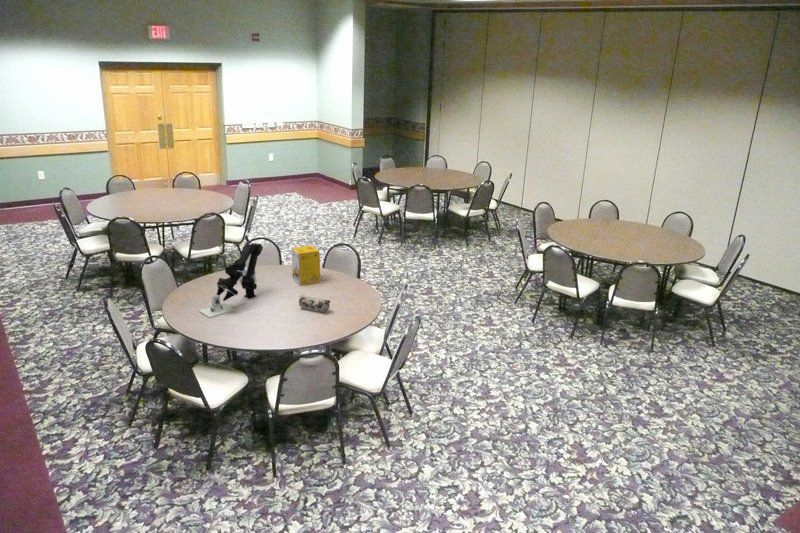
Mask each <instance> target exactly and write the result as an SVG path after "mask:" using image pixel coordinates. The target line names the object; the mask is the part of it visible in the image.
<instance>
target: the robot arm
mask: <svg viewBox="0 0 800 533" xmlns="http://www.w3.org/2000/svg"><path fill="white" fill-rule="evenodd" d="M263 249H264V248H263V245H262V244H261V243H253V242H252V243H251V244H250V243H248V244H246V245H245V249H244V250H243V251H242V253H241V255H240V257H239V258H237V259H236V260H235V261H234V262H233V263H232V264H229V266H228V265H227V267H225V270H224V272H225V274H227V276H229V277H227V278H225V277H224V278H223V277H218V281H217V283H216V285H217V292H216V294H215V295H219V296H221V295H222V294H223V293H224V292H225V291H226V293H225V296H224V297H223V299H222V301H223V302H225V301H227V300H229V299H230V298H232V297H235V296H237V295H238V294H239V292H238V290H237V289H235V288H234V287H235V286H236V285H238V283H237V282H238V281H240V280H239V278H240V277H241V276H242V282H240V284H241V287H242V289H243V290H245V294H244V295H243V296H244V297H245V298H247V299H249V300H250V299H253V298H255V297H257V295H256V294H255V290H257V286H258V285H257V283H256V280H254V277H253V275H254V270H255V271H256V267H257V266H256V265H257V261H258V257H259V256H260V255H261V254H262V251H263ZM248 260H249V261H248ZM247 261H248V265H247V263H246V262H247ZM245 267H248V269H247V273H246V275H245V276H243V273H242V272H239V271H243V270H244V269H245Z"/></svg>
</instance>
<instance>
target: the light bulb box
mask: <svg viewBox="0 0 800 533" xmlns="http://www.w3.org/2000/svg"><path fill="white" fill-rule="evenodd" d="M247 269H248V266H246V267H245V269H244V270H243V271H239V270H238V271H239V272H242V273H243V276H245V275H246V273H247ZM253 277H254V280H255V281H256V280H257V279H256V278H257V276H256V269H255V270H254V275H253ZM238 281H239V283H241V282H242V276H241V277H240V278H239V280H238Z"/></svg>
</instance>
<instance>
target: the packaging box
mask: <svg viewBox="0 0 800 533" xmlns="http://www.w3.org/2000/svg"><path fill="white" fill-rule="evenodd" d="M290 251H291V252H290V253H291V266H292V267H291V269H292V270H291V272H292V274H291V275H292V280H293V281H294V282H295V283H296V284H297V285H298V286H300V287H301V286H306V285H313V284H320V283H321V266H320V265H321V264H320V261H321V260H320V259H321V258H320V251H319V249H317V248H316V247H315V246H313V245H303V246H297V247H291V249H290Z"/></svg>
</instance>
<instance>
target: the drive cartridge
mask: <svg viewBox="0 0 800 533" xmlns="http://www.w3.org/2000/svg"><path fill="white" fill-rule="evenodd" d="M220 296H221V295H216V294H214V295H211V296H210V297H211V307H212V308H214V311H215V312H216V311H219V310H221V306H220V304H221V297H220Z"/></svg>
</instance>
